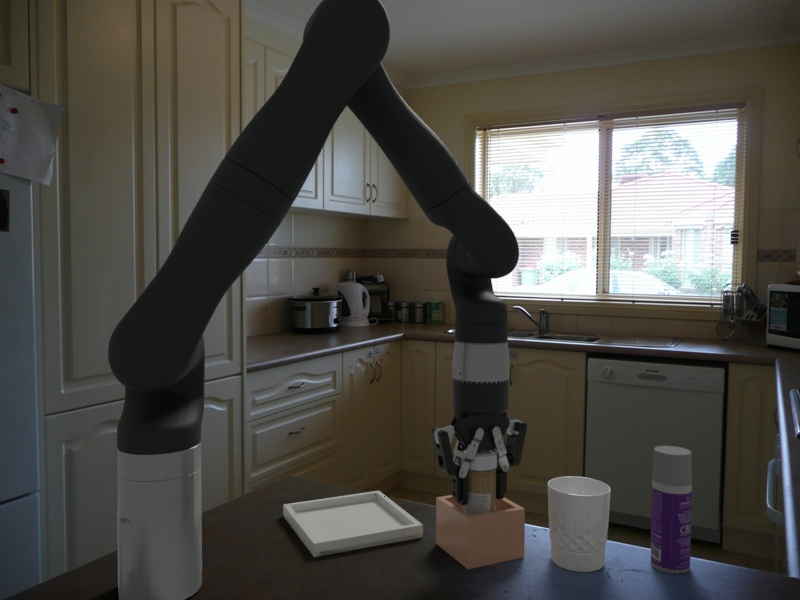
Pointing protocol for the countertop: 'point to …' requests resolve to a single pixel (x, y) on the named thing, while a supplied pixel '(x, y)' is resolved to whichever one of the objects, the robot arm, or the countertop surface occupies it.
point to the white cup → (578, 522)
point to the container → (671, 509)
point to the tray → (350, 523)
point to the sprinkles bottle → (482, 484)
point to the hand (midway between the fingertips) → (479, 499)
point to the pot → (480, 532)
